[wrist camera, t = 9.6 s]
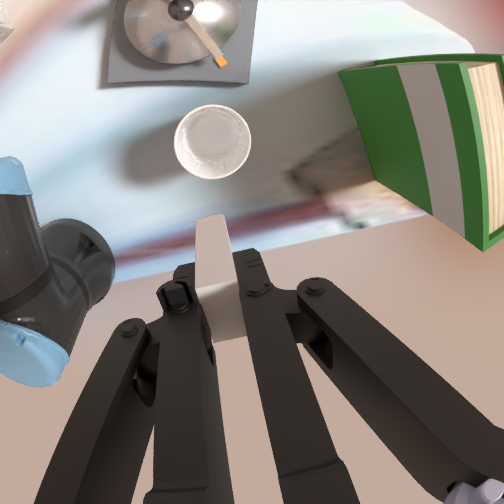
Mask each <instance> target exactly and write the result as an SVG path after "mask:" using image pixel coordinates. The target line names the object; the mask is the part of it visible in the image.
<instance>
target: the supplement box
mask: <svg viewBox="0 0 504 504" xmlns="http://www.w3.org/2000/svg"><path fill="white" fill-rule="evenodd" d="M13 30H14V28H13V26H12V24H11V22H10V20H9V17H8V15H7V12H6V9H5V6H4V3H2V2H0V43H1V42H2V41H3V40H4V39H5V38H6V37H7V36H8V35H9V34H10V33H11V32H12V31H13Z"/></svg>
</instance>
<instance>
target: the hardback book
mask: <svg viewBox="0 0 504 504" xmlns="http://www.w3.org/2000/svg"><path fill="white" fill-rule="evenodd" d="M375 63H376V66H373V67H364V68H357V69H349V70H343V71H340V72H338V73H339V76H340V78H341V81H342V83H343V86H344V88H345V91H346V93H347V96H348V98H349V101H350V104H351V106H352V109H353V112H354V115H355V117H356V120H357V123H358V126H359V129H360V132H361V135H362V138H363V141H364V144H365V147H366V150H367V154H368V157H369V160H370V163H371V167H372V170H373V174H374V177H375V180H376V181H377V182H379V183H381V184H382V185H384V186H386V187H387V188H389V189H391V190H392V191H394V192H396V193H397V194H399V195H401V196H402V197H404V198H405V199H407V200H409V201H410V202H412V203H413V204H415V205H417V206H418V207H420V208H421V209H423V210H424V211H426V212H427V213H429V214H430V215H432V216H434V217H435V218H436V219H438V220H439V221H441V222H442V223H444V224H445V225H446V226H448V227H450V228H451V229H452V230H454V231H455V232H456V233H458V234H459V235H460V236H462V237H463V238H465V239H466V240H467V241H469V242H470V243H471V244H473V245H474V246H475V247H477V248H478V249H479V250H481V251H482V252H484V251H486V250H487V249H488V248H490V247H491V246H493V245H494V244H496V243H497V242H498V241H500V240H501V239H502V238H504V55H503V54H434V55H419V56H408V57H398V58H389V59H382V60H377V61H375Z"/></svg>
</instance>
